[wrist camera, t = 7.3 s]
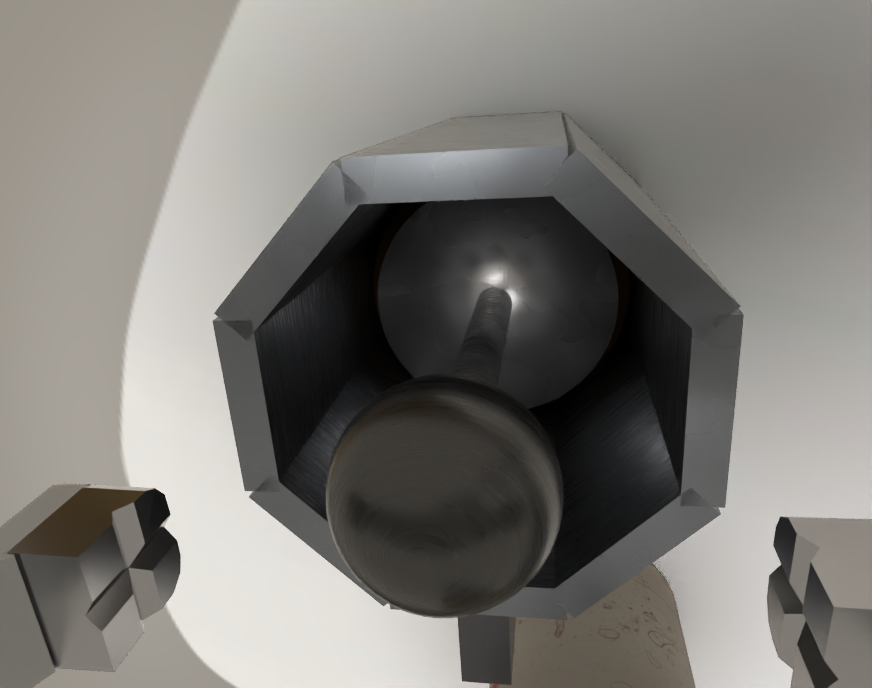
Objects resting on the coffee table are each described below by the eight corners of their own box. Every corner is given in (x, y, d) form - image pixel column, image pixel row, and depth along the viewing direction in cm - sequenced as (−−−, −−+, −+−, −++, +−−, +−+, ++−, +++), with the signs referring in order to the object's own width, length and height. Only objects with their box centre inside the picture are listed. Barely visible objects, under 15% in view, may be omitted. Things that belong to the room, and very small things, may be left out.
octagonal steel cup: (646, 105, 23) (760, 134, 10) (633, 432, 28) (702, 738, 15) (374, 122, 25) (183, 166, 12) (403, 429, 29) (284, 700, 16)
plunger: (619, 171, 18) (724, 314, 7) (613, 401, 21) (684, 784, 9) (373, 183, 19) (125, 322, 8) (394, 399, 22) (223, 737, 11)
